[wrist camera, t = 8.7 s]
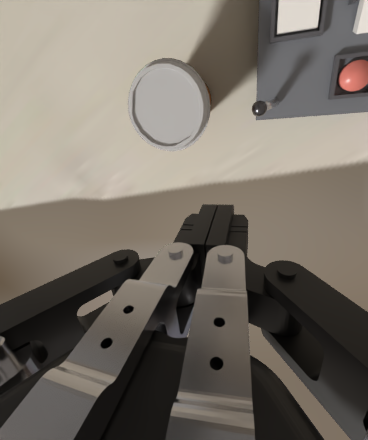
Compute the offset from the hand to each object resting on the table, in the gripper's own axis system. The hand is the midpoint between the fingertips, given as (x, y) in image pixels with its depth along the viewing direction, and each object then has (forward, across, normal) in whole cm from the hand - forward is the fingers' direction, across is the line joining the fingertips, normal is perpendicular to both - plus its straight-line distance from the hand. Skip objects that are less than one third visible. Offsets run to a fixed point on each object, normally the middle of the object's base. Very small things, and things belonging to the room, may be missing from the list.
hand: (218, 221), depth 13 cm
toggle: (+26, -4, -3) cm, 26 cm away
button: (+26, -12, -5) cm, 29 cm away
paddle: (+26, -6, -12) cm, 29 cm away
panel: (+29, -9, -9) cm, 32 cm away
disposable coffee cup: (+29, +8, -4) cm, 31 cm away
